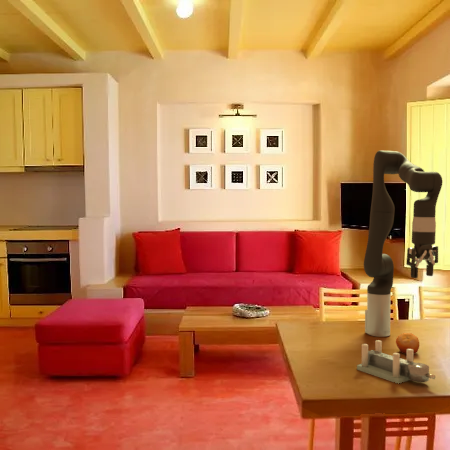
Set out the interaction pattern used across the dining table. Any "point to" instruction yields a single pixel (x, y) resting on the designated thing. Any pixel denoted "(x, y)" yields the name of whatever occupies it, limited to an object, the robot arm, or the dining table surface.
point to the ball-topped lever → (407, 368)
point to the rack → (380, 372)
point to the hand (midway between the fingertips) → (422, 276)
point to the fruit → (407, 342)
